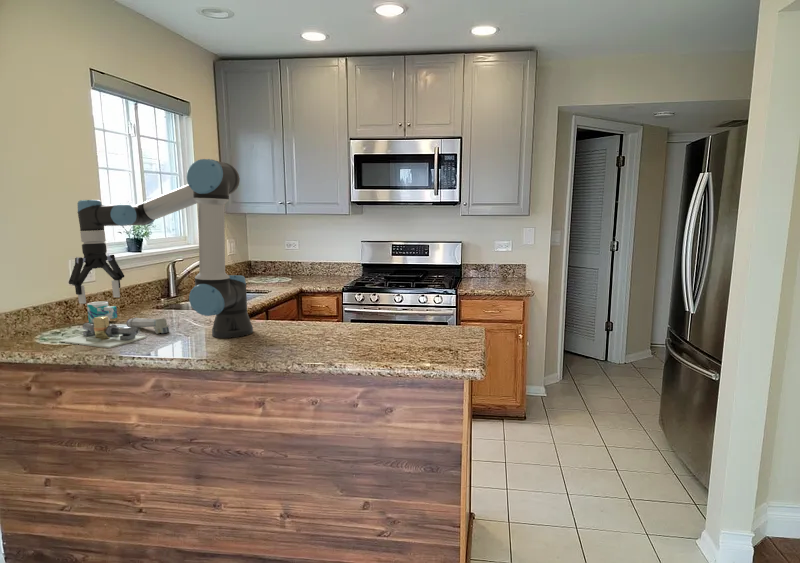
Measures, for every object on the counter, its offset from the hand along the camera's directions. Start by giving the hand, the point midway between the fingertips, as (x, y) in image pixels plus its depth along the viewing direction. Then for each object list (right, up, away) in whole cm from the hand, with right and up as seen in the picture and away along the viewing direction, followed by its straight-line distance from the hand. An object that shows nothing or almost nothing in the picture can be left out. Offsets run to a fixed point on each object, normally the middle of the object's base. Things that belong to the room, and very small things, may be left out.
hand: (100, 300), depth 181 cm
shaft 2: (+8, -14, +1) cm, 17 cm away
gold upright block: (0, -14, +2) cm, 15 cm away
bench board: (0, -15, +2) cm, 15 cm away
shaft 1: (-7, -14, +7) cm, 17 cm away
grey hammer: (+8, -13, +18) cm, 24 cm away
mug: (-21, -11, +37) cm, 44 cm away
